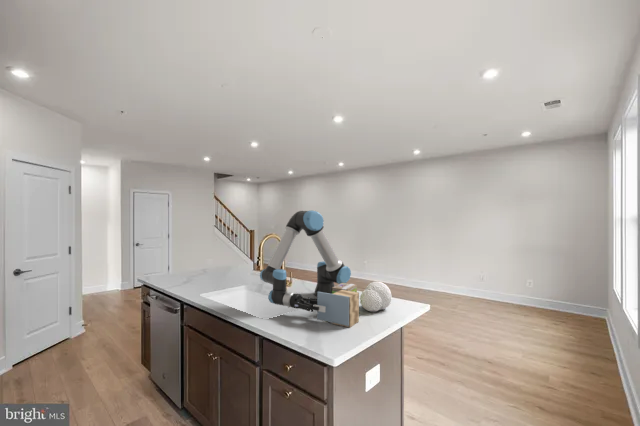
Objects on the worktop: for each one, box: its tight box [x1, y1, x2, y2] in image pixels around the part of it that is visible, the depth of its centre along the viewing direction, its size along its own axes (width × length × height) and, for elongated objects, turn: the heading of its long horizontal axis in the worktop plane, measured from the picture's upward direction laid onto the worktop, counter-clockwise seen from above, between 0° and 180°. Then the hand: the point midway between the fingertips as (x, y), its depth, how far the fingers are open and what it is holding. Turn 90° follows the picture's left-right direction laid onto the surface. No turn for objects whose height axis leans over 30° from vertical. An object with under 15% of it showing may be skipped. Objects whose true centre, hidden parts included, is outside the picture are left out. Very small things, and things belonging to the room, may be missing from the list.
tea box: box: [332, 282, 358, 294], centre depth 172 cm, size 15×10×15 cm, turn 153°
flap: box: [316, 292, 349, 326], centre depth 152 cm, size 1×18×14 cm, turn 58°
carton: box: [331, 290, 360, 328], centre depth 154 cm, size 10×10×15 cm
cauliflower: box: [359, 281, 393, 313], centre depth 176 cm, size 20×18×16 cm
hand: (329, 307), depth 153 cm, fingers open, 7 cm apart
